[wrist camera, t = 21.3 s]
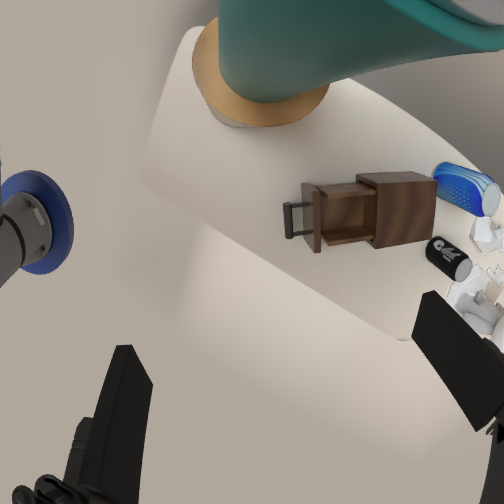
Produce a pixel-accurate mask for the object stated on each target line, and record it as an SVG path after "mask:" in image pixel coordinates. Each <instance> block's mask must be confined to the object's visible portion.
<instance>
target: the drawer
mask: <svg viewBox="0 0 504 504" xmlns="http://www.w3.org/2000/svg"><path fill="white" fill-rule="evenodd" d="M301 190H302V203H294V204H291V203H289V202H287V203H283V213H284V226H285V238H286V239H292V238H293V237H294V236H300V235H304V239H305V241H306V242H307V244H308V245H309V246H310V248H311V249H312V251H313V252H314V253H320V252H321V238H322V239H323V240H324V242H325V243H326V244H327V245H328V246H333V245H339V244H346V243H352V242H359V241H365V240H371V239H374V221H375V190H376V187H373V186H371V185H369V184H367V183H365V182H362V183H350V184H338V185H327V186H317V187H316V188H315V187H313V186H312V185H310V184H309V183H301ZM297 207H303V226H304V231H297V232H293V219H292V208H297Z"/></svg>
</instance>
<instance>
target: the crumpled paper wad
mask: <svg viewBox="0 0 504 504" xmlns="http://www.w3.org/2000/svg"><path fill="white" fill-rule="evenodd" d="M470 235H471V237H472V238H473V240H474V241H475V243H476V244H477V246H478V247H479V248H480V250H481V251H482V253H483V254H484V256H486V255H487V254H488V253H489V252H491V251H492V250H499V251H500V252H501V253H504V228H503V226H502V224H501V223H500V224H498V225H497V226H496V227H495V226H494V224H493V222H492V220H491V219H490V217H487V216H485V217H477V216H476V218H475V221H474V224H473V227H472V229H471V232H470Z"/></svg>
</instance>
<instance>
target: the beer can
mask: <svg viewBox="0 0 504 504" xmlns="http://www.w3.org/2000/svg"><path fill="white" fill-rule="evenodd" d="M431 178H432V179H435V180H437V181H438V182H437V196H438V197H439V198H441V199H443V200H445V201H447V202H449V203H451V204H453V205H456V206H458V207H460V208H462V209H464V210H466V211H468V212H469V213H471V214H473V215H475V216H477V217H485V216H487V217H491V216H493V215H494V214H495V213H496V211H497V209H498V207H499V204H500V197H501V194H500V189H499V186H498V185H497V184H496V183H494V181H493V180H492V179H491V177H490V176H488V175H485V174H482V173H479V172H477V171H474V170H471V169H468V168H465V167H461V166H458V165H455V164H452V163H448V162H443V163H441V164H440V165H438V166H437V167H436V168H435V169H434V171H433V173H432V177H431Z"/></svg>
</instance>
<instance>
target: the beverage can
mask: <svg viewBox="0 0 504 504" xmlns="http://www.w3.org/2000/svg"><path fill="white" fill-rule="evenodd" d="M426 257H427V259H428V260H429V261H430V262H431V263H433V264H434V265H435V266H436V267H437V268H439V269H440V270H441V271H442V272H443V273H445V274H446V275H447V276H448V277H449V278H451V279H452V280H453V281H457V282H459V283H460V282H463V281H464V280H466V279H467V277H468V276H469V275H470V273H471V270H472V261H471V260H470V259H469V256H468V255H467V254H465V253H464V252H463V251H461V250H460V249H458V248H457V247H455V246H454V245H452V244H451V243H449V242H448V241H446V240H445V239H443V238H442V237H435V238H433V239H432V240H431V241H430V242H429V243H428V245H427V248H426Z"/></svg>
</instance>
